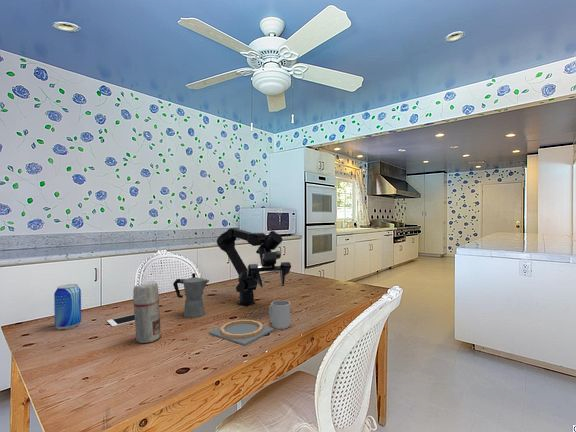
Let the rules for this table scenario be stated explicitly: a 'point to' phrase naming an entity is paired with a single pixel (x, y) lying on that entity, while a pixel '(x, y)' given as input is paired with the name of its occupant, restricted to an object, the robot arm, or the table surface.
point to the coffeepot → (192, 295)
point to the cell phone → (122, 320)
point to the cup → (280, 314)
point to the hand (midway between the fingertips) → (272, 285)
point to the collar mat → (242, 331)
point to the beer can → (67, 306)
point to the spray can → (146, 312)
